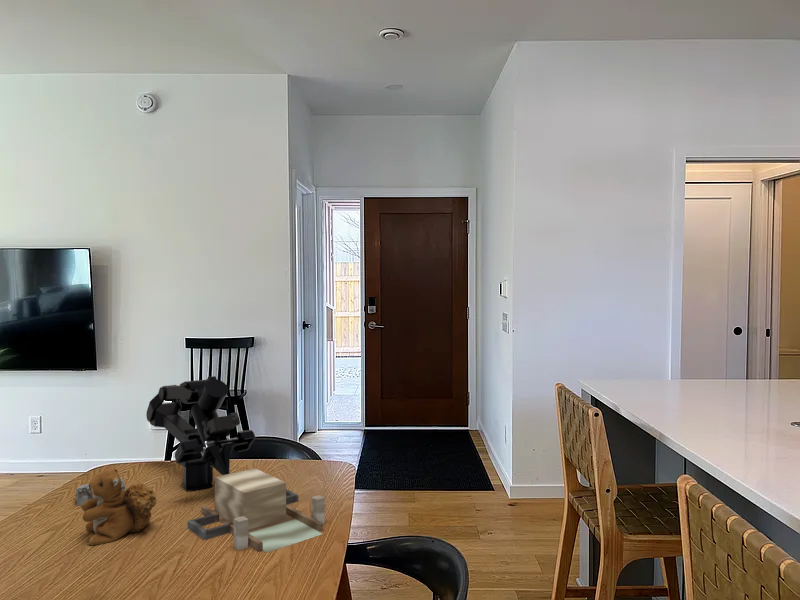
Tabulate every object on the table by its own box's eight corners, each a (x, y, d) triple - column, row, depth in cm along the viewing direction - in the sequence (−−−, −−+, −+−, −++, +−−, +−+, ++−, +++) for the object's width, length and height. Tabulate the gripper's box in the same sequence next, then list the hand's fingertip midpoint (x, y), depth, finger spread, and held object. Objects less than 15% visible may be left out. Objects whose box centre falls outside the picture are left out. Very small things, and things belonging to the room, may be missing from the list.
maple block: (214, 512, 128) (214, 477, 128) (254, 501, 135) (255, 468, 135) (244, 531, 118) (244, 492, 118) (285, 518, 125) (286, 482, 125)
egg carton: (74, 509, 132) (74, 491, 132) (76, 498, 138) (75, 482, 138) (125, 501, 137) (125, 484, 137) (124, 491, 143) (124, 475, 143)
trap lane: (176, 521, 124) (176, 494, 124) (280, 494, 141) (281, 470, 141) (234, 566, 104) (235, 533, 103) (348, 527, 121) (348, 499, 121)
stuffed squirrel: (83, 529, 120) (83, 467, 120) (155, 518, 126) (156, 459, 125) (78, 548, 110) (79, 481, 110) (157, 536, 116) (157, 472, 116)
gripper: (179, 407, 132) (198, 465, 124) (252, 398, 145) (274, 450, 137) (166, 434, 138) (184, 491, 130) (238, 423, 151) (258, 475, 142)
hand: (227, 476), depth 135 cm, fingers closed
